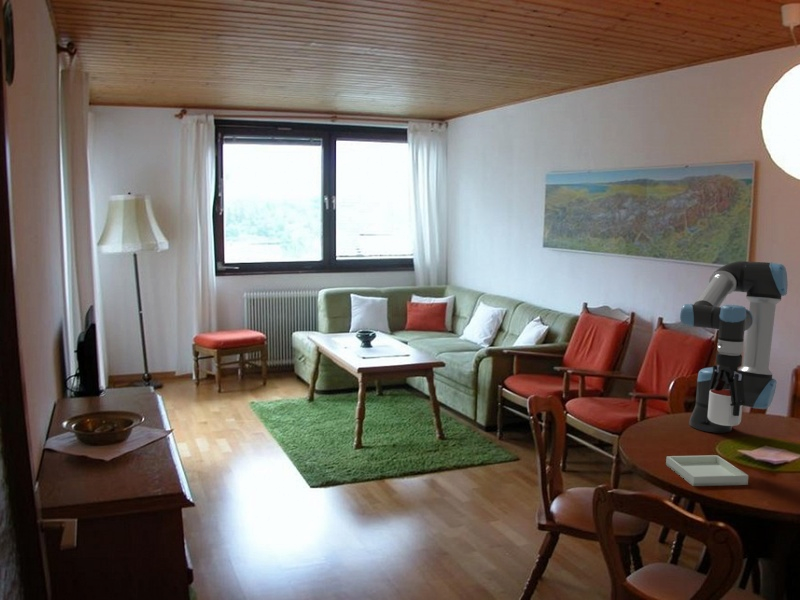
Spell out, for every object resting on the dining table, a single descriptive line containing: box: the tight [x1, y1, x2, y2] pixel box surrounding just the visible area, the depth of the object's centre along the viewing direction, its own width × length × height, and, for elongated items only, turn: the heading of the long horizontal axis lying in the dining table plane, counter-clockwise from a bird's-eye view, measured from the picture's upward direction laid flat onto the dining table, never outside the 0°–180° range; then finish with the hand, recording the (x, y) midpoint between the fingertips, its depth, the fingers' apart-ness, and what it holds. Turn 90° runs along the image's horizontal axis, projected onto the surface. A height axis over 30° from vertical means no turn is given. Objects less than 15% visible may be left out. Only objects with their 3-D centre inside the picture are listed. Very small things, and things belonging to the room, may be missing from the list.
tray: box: [665, 454, 749, 487], centre depth 226 cm, size 18×18×3 cm
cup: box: [707, 389, 743, 427], centre depth 232 cm, size 10×10×10 cm
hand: (723, 420), depth 232 cm, fingers closed on cup, 10 cm apart
